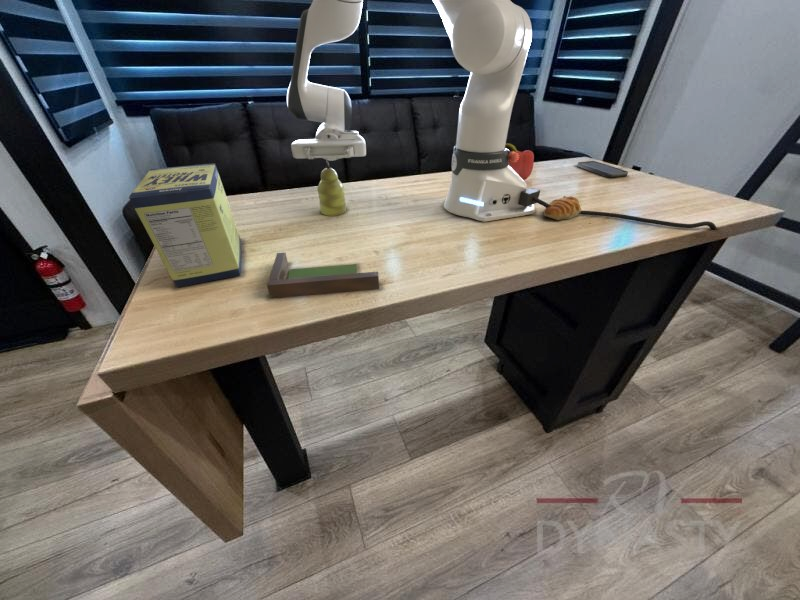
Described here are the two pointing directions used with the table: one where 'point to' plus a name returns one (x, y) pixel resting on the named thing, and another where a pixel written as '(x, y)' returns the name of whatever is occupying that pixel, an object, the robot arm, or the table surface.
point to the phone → (602, 169)
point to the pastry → (563, 208)
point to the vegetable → (522, 162)
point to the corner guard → (316, 282)
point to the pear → (331, 193)
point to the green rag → (322, 271)
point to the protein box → (189, 223)
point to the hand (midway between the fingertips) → (329, 155)
